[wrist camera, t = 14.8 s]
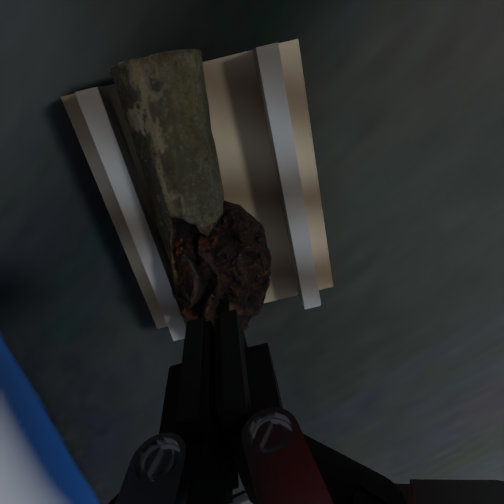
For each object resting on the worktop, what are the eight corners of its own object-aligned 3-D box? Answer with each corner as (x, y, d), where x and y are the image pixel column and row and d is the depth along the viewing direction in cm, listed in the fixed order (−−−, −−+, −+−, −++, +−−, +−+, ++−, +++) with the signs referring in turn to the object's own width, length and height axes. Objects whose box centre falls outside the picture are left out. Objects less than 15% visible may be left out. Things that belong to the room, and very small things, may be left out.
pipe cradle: (328, 278, 30) (341, 300, 27) (159, 319, 30) (153, 345, 27) (293, 40, 22) (306, 35, 19) (68, 96, 22) (46, 99, 19)
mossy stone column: (117, 66, 21) (88, 62, 16) (234, 47, 21) (243, 36, 16) (188, 320, 29) (183, 372, 23) (273, 303, 29) (287, 351, 24)
